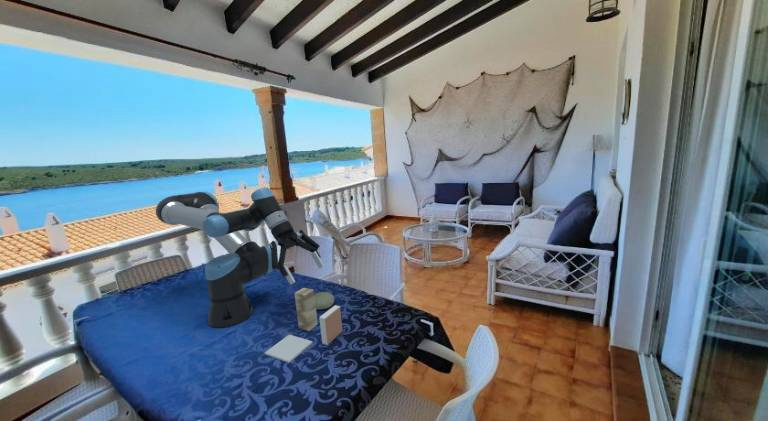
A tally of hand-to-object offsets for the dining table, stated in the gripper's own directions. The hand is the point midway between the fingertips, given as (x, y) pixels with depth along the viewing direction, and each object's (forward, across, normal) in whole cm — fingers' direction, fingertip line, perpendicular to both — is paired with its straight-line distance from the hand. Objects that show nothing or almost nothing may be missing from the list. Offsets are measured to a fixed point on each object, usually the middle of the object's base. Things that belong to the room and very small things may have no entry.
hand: (308, 274), depth 109 cm
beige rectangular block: (+15, -8, +4) cm, 18 cm away
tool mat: (+17, -19, 0) cm, 25 cm away
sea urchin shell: (+13, +6, +11) cm, 18 cm away
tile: (+22, -8, -6) cm, 24 cm away
